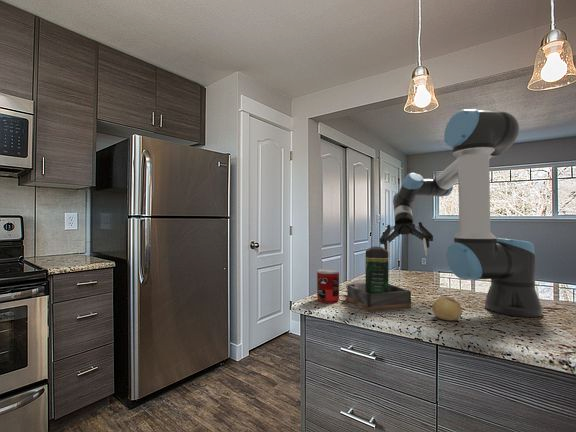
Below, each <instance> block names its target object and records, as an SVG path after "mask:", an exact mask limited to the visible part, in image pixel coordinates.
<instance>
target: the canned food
mask: <svg viewBox="0 0 576 432" xmlns="http://www.w3.org/2000/svg"><path fill="white" fill-rule="evenodd" d="M316 283H317V284H316V290H317V291H316V296H317V297H316V299H317V300H318V302H319V303H325V304H333V303H337V302H339V300H340V271H339V270H338V269H333V268H320V269H317V271H316Z"/></svg>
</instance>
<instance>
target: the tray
mask: <svg viewBox="0 0 576 432" xmlns="http://www.w3.org/2000/svg"><path fill="white" fill-rule="evenodd" d="M347 284H348V283H347ZM346 293H347V294H346V295H345V300H346V301H348V302H350V303H352V304H354V305H355V306H357V307H360V308H361V309H363V310H364V311H366V312H369V313H371V312H379V311H380V312H381V311H391V310H402V309H411V308H412V297H411V296H412V291H411V290H408V289H405V288H402V287H399V286H396V285H393V284H390V283H388V292H386V293H373V294H369V293H367V292H365V291H362V290H360V289H358V288H356V287H355V285H354V284H351V283H350V284H348V285H347V289H346Z"/></svg>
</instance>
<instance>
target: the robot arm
mask: <svg viewBox="0 0 576 432" xmlns="http://www.w3.org/2000/svg"><path fill="white" fill-rule="evenodd" d="M443 133H444V134H443V139H444V142H445V144H446V145H447V146H448V147H450V148H452V155H453V156H454V157H455V158H456V159H455V160H454V161H453V162H452V163H451V164H450V165H448V166H447V167H446V168H445V169H443V170H442V171H441V172H440V173H439V174H438V175H436V176H435V177H434V178H424V177H423V176H422V175H421V174H419V173H415V172H410V173H408V174H407V175H406V176H405V178H404V179H403V181H402V184H401V186H400V189H399V191H398V192H396V193H395V194H394V195H393V200H392V204H393V205H392V206H393V216H394V225H391V224H387V226H386V229H385V230H384V231H383V233H382V235H381V236H380V238H379V243H380V245H384V249H386V250H387V251H388V258H391V251H390V250H391V248H390V247H391V246H390V243H392V241H393V240H394V239H396V238H398V237H399V236H400V235H401V236H403V235H412V236H415V237H417V239H419V240H421V241H422V242H423V249H424V254H425V256H428V248H430V242H433V241H434V235H433V234H432V233H431V232H430V231H429V230H428V229H427V228H426V227H425V226H424V225H423V224H422V223H423V222H421V221H420V222H418V223H414V217H413V210H412V205H413V203H414V201H415V199H416V198H417V197H439V198H440V197H441V198H442V197H448V196H449V195H451V193H452V192H453V188H454V186H455V185H456V184H458V226H459V227H458V229H459V230H458V232H457V233H456V234H455V235H454V236H453V240H454V241H453V243H451V244H449V245H448V247H447V248H446V252H445V259H446V264H447V266H448V268H449V270H450V271H451V272H452V274H453V275H454V276H456V278H459V279H461V280H465V281H467V280H469V281H470V280H471V281H478V280H490V286H489V288H488V291H487V294H486V297H485V300H484V307H485V309H487V310H489V311H492V312H495V313H499V314H503V315H508V316H515V317H524V318H537V317H541V316H543V314H544V313H543V306H542V305H541V301H540V297H539V295H538V293H537V290H536V253H535V245H534V243H532V242H530V241H527V240H520V239H519V240H518V239H511V238H501V237H496V236H495V235H494V234H493V233H492V232H491V191H490V190H491V188H490V187H491V185H490V180H491V179H490V160H491V158H493V157H495V158H496V157H499V156H500V155H502V154H503V153H505V152H506V151H508V149H509V148H510V147H512V146H513V144H514V143H515V142H516V140H517V138H518V136H519V134H520V125H519V122H518V120H517V119H516V117H515V116H514V115H513V114H511V113H509V112H507V111H503V110H484V109H483V110H482V109H477V108H471V109H461V110H459V111H457V112H455V113H454V114H453V115H452V116H451V118H450V119H449V120H448V122H447V123H446V126H445V128H444V132H443Z"/></svg>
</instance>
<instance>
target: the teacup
mask: <svg viewBox="0 0 576 432" xmlns="http://www.w3.org/2000/svg"><path fill="white" fill-rule="evenodd" d="M365 281H366V279H360V278H357V279H351V281H350V283H349V282H348V283H346V284H345V290H347V285H348V284H354V285H355V287H356V288H358V289H360V290H362V291H365Z"/></svg>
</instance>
